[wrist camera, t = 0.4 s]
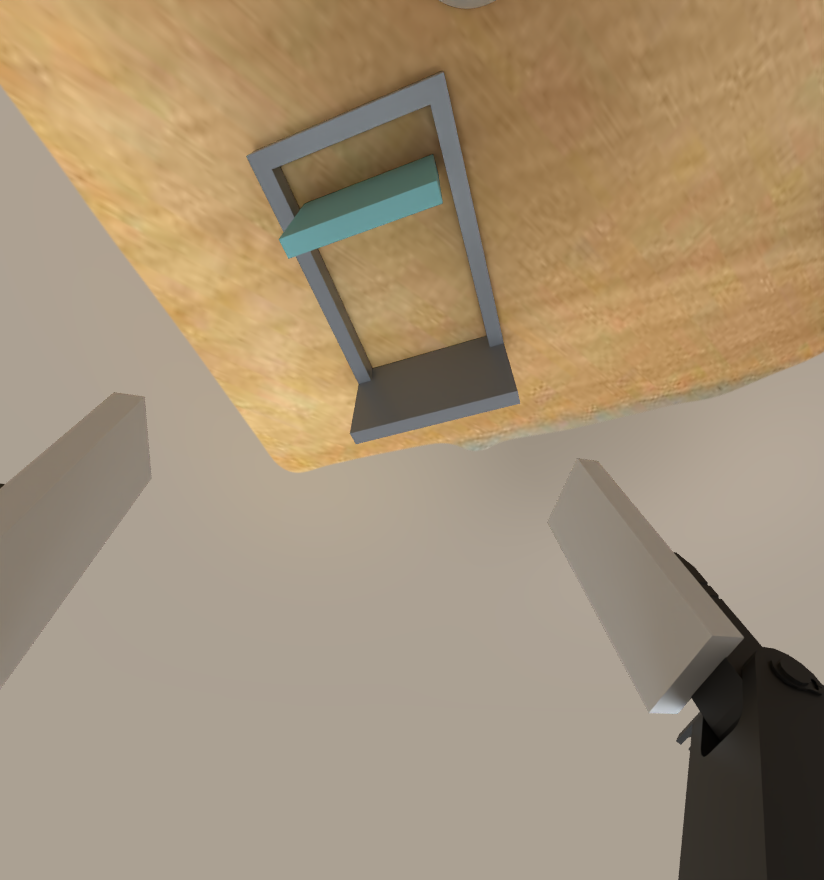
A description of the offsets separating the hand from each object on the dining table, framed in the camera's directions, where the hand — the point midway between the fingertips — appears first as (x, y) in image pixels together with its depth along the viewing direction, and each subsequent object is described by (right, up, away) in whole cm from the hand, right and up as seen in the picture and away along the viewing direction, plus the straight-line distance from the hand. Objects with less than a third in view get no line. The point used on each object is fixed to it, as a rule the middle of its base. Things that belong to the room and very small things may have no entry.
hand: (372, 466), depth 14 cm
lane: (0, +15, +22) cm, 26 cm away
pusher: (-2, +19, +18) cm, 26 cm away
